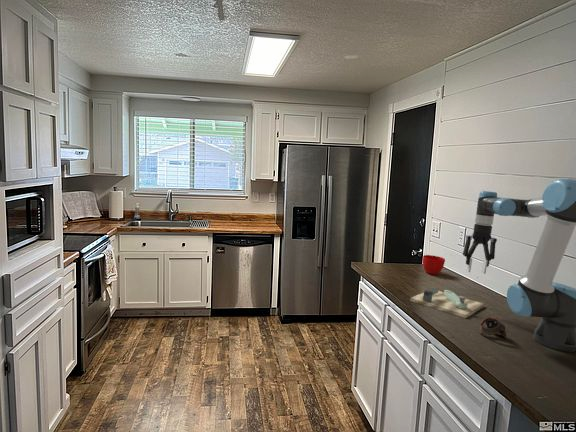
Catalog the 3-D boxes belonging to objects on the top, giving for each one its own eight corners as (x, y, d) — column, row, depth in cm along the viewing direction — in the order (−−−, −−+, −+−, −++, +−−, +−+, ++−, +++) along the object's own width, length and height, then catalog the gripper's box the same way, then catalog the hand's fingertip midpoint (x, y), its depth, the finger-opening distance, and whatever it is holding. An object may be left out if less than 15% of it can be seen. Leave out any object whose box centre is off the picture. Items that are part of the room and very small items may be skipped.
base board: (483, 306, 197) (485, 293, 196) (465, 318, 178) (467, 303, 177) (431, 291, 214) (433, 279, 213) (410, 300, 195) (411, 287, 195)
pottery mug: (512, 343, 157) (507, 326, 154) (487, 349, 159) (482, 333, 156) (499, 324, 168) (495, 308, 165) (476, 330, 170) (471, 314, 167)
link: (468, 309, 185) (469, 305, 184) (457, 308, 185) (458, 304, 185) (451, 294, 206) (452, 290, 206) (441, 293, 206) (442, 289, 206)
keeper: (437, 298, 198) (438, 289, 198) (428, 302, 191) (430, 293, 190) (431, 296, 200) (432, 287, 200) (422, 300, 193) (424, 291, 192)
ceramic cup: (445, 272, 260) (448, 257, 259) (440, 277, 246) (442, 261, 244) (425, 268, 267) (427, 253, 265) (418, 272, 252) (420, 257, 251)
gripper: (500, 225, 193) (493, 272, 196) (459, 221, 194) (452, 268, 197) (508, 227, 186) (500, 276, 189) (465, 223, 187) (458, 272, 190)
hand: (475, 272), depth 193 cm, fingers open, 6 cm apart
